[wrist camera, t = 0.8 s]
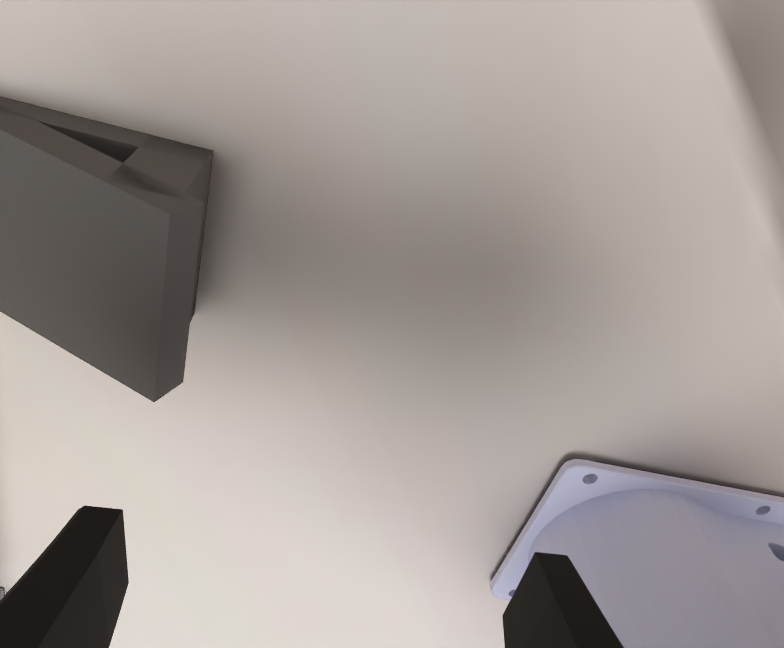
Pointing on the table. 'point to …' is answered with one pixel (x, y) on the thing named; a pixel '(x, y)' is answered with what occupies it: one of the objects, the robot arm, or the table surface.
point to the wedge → (102, 240)
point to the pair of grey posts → (1, 593)
